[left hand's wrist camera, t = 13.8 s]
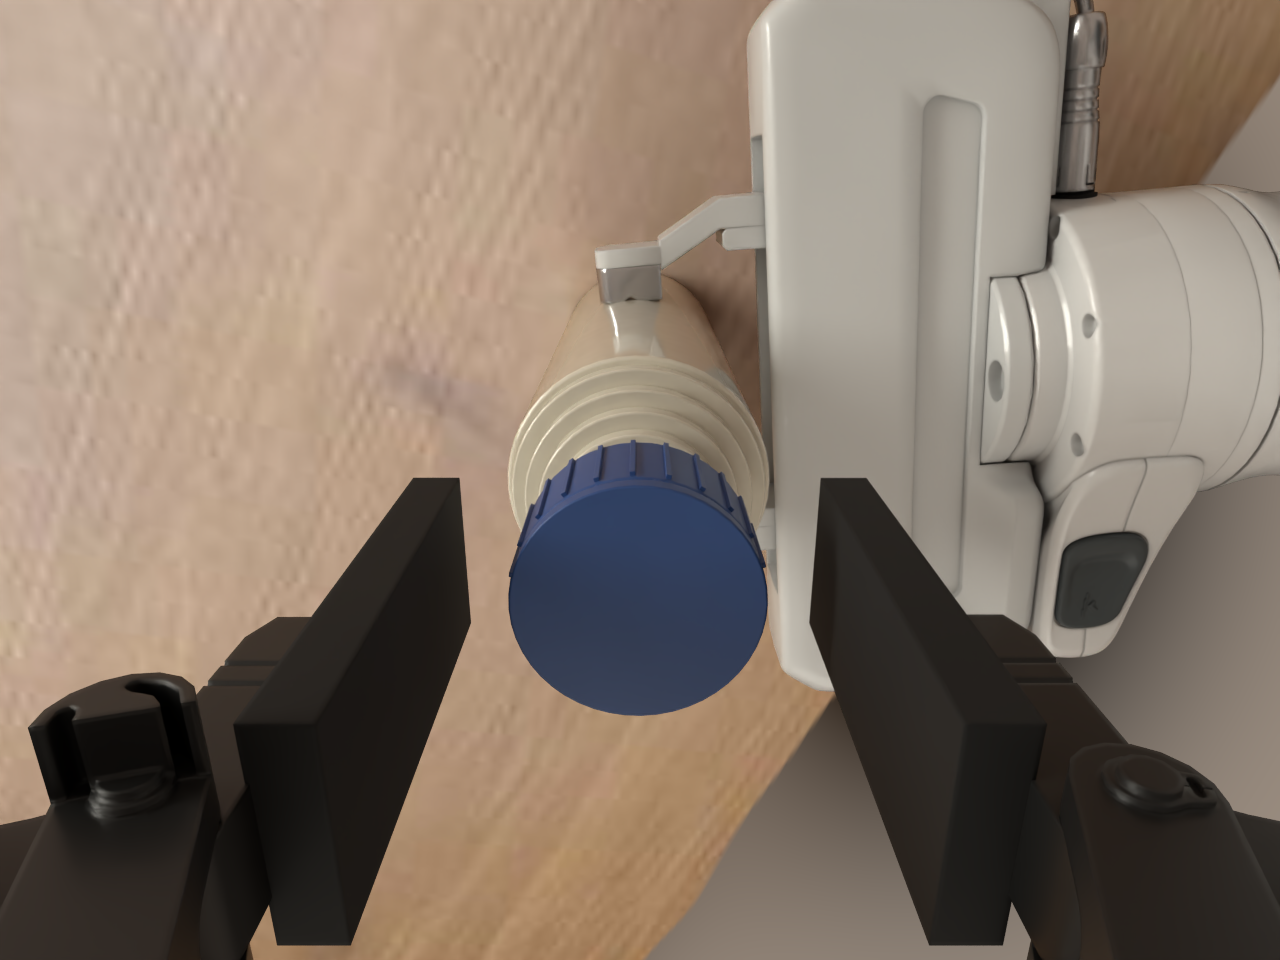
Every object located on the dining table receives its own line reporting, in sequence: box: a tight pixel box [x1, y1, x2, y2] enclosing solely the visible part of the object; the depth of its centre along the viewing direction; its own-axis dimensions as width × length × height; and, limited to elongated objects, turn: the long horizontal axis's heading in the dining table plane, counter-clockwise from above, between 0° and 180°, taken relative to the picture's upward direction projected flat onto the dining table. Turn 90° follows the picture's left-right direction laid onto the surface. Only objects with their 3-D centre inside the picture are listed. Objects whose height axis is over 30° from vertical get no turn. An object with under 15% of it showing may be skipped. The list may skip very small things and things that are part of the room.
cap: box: [509, 440, 768, 716], centre depth 13 cm, size 4×4×2 cm
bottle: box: [508, 275, 769, 533], centre depth 22 cm, size 5×5×20 cm
